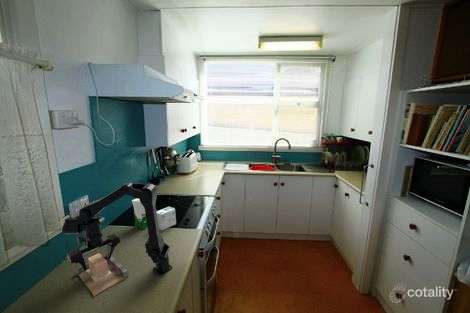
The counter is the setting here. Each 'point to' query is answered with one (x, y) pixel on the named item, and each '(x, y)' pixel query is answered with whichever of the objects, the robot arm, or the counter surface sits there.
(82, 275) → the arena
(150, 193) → the robot arm
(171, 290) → the counter surface
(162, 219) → the light bulb box
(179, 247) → the counter surface
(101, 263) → the terracotta block
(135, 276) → the counter surface
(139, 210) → the milk carton
